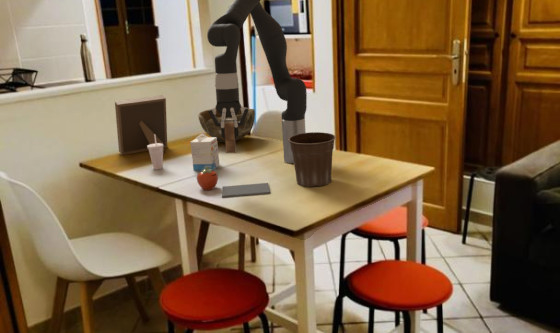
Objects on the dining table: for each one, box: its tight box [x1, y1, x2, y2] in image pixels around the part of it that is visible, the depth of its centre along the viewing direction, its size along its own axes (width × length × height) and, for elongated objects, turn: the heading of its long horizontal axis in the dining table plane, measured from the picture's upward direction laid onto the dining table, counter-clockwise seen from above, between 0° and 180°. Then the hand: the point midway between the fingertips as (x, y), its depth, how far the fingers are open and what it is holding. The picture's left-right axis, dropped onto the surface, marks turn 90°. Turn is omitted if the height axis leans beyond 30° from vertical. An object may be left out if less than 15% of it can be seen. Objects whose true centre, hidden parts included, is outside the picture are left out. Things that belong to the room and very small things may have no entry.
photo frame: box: [114, 94, 168, 156], centre depth 236 cm, size 15×22×25 cm
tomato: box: [196, 167, 219, 191], centre depth 182 cm, size 7×7×8 cm
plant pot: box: [288, 131, 337, 188], centre depth 181 cm, size 16×16×16 cm
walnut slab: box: [224, 119, 236, 154], centre depth 174 cm, size 3×7×10 cm, turn 4°
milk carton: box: [189, 133, 220, 171], centre depth 207 cm, size 9×8×13 cm
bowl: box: [197, 108, 256, 143], centre depth 249 cm, size 28×27×15 cm
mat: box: [221, 182, 271, 199], centre depth 178 cm, size 16×10×1 cm, turn 95°
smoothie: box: [147, 134, 164, 170], centre depth 210 cm, size 6×6×14 cm
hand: (230, 137), depth 175 cm, fingers closed on walnut slab, 3 cm apart
